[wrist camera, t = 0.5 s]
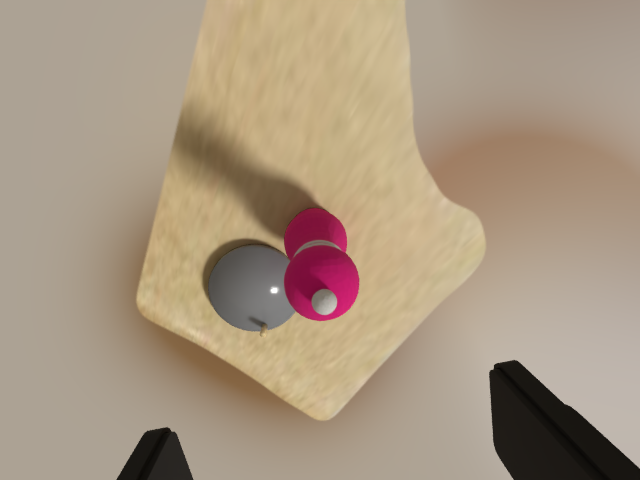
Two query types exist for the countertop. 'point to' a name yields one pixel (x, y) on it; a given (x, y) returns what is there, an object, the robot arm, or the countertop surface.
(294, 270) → the pepper mill
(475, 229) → the countertop surface
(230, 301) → the grey flat disc
